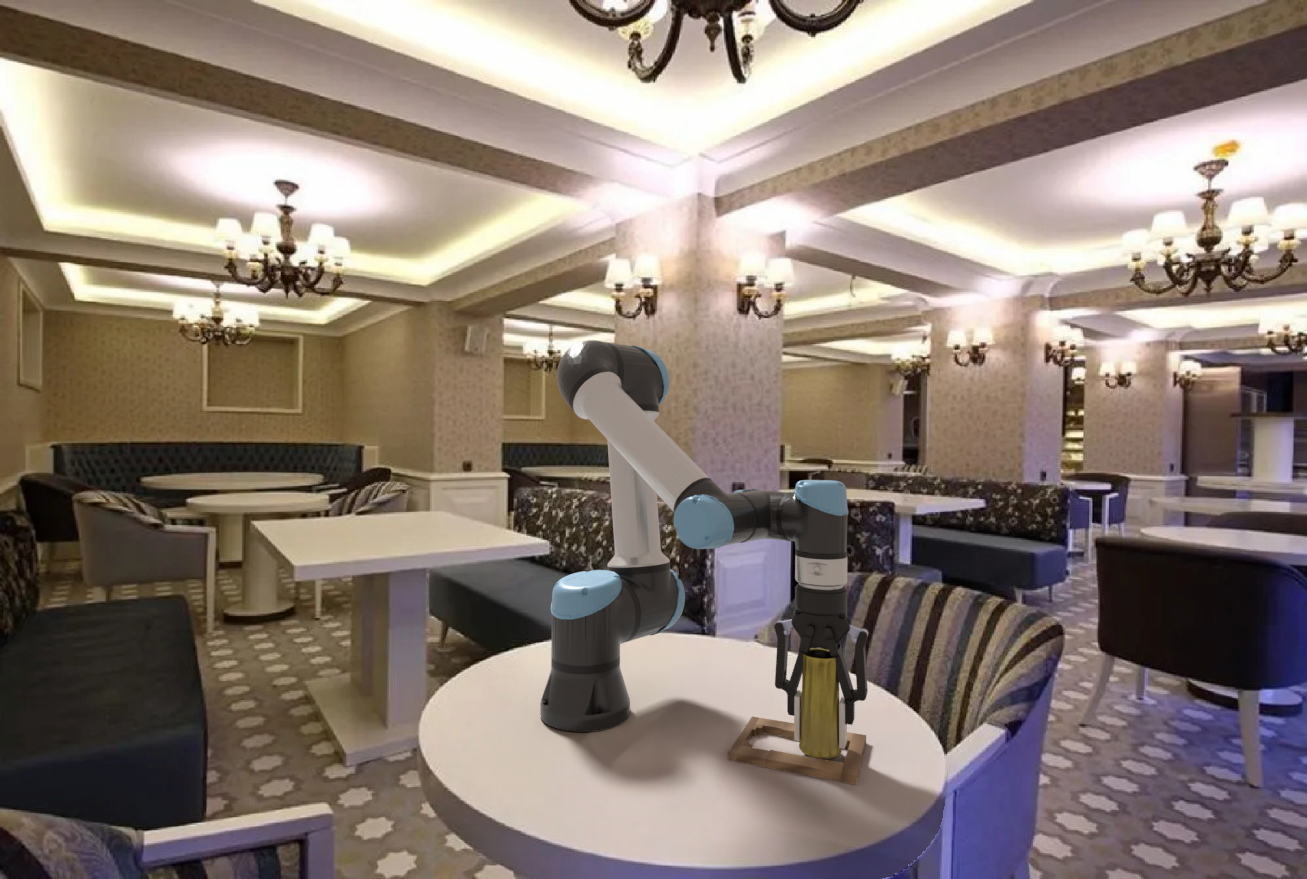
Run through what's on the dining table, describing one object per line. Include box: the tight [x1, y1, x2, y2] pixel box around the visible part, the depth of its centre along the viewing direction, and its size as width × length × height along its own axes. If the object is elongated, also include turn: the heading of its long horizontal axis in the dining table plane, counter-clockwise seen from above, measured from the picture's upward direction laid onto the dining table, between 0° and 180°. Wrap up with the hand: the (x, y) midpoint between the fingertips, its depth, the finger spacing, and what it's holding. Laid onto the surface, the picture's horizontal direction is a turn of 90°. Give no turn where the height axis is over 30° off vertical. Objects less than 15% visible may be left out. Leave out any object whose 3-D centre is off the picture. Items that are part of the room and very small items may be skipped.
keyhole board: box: [727, 716, 867, 786], centre depth 102 cm, size 18×14×1 cm
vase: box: [798, 648, 843, 760], centre depth 101 cm, size 6×6×14 cm
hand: (820, 740), depth 101 cm, fingers closed on vase, 6 cm apart
